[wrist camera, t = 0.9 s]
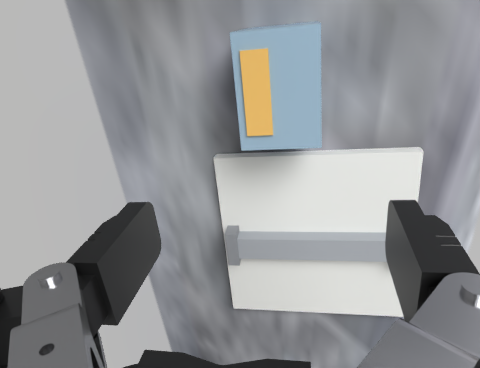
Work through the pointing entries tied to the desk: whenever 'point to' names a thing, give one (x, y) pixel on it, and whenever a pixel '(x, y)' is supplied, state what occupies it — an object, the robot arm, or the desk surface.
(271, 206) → the rail plate
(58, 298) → the robot arm
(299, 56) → the block
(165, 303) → the desk surface
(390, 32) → the desk surface
